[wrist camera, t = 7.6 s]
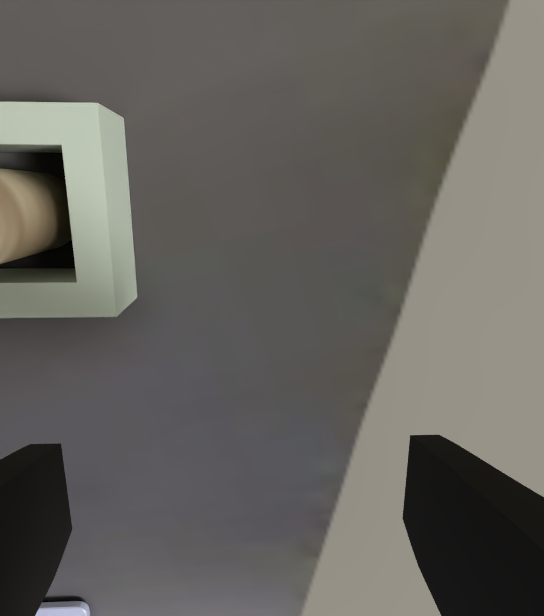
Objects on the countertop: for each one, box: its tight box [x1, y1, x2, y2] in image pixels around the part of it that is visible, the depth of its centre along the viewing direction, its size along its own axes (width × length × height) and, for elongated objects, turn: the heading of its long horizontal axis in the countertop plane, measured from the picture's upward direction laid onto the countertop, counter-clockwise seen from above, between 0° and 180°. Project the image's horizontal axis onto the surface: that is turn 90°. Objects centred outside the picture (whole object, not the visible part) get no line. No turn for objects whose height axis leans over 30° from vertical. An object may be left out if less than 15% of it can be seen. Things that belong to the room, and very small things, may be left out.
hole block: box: [0, 102, 137, 318], centre depth 16 cm, size 7×7×3 cm
